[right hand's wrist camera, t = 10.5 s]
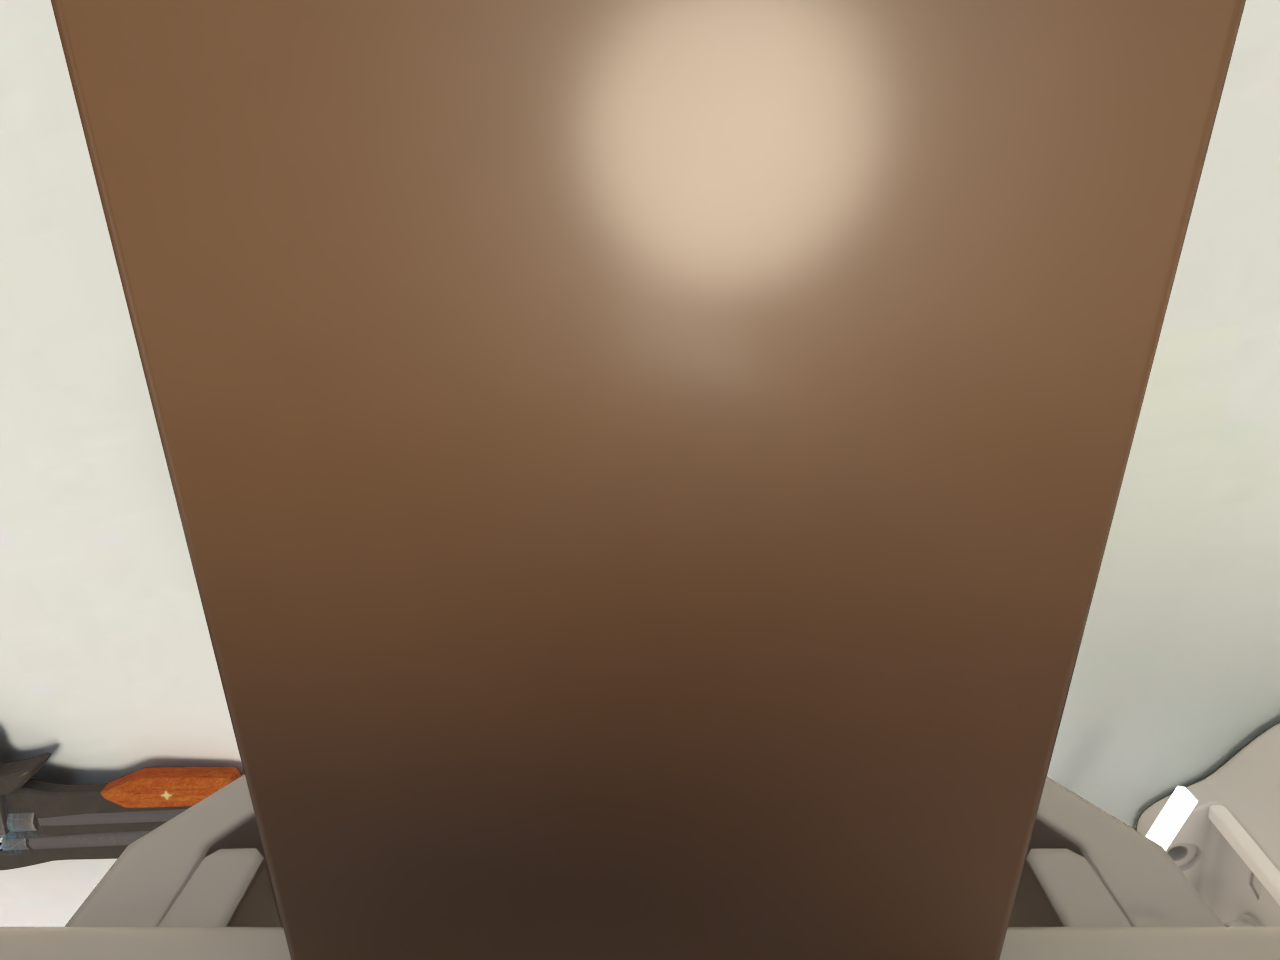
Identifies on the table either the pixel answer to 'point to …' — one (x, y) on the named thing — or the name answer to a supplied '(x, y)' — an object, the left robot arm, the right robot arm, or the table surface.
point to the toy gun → (93, 810)
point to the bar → (646, 439)
